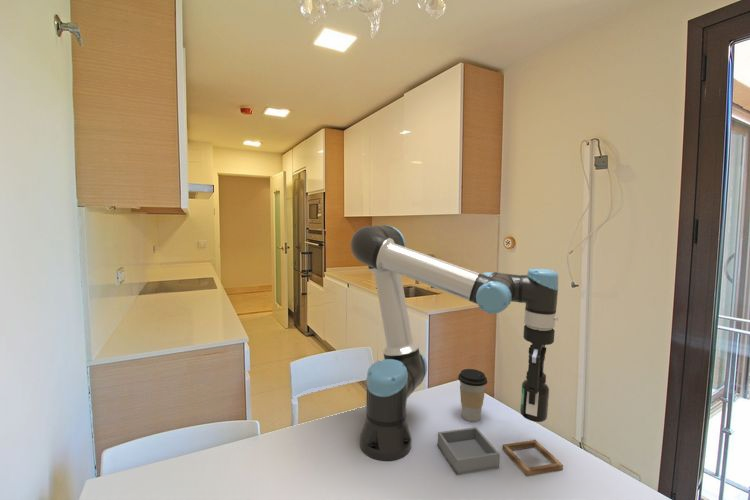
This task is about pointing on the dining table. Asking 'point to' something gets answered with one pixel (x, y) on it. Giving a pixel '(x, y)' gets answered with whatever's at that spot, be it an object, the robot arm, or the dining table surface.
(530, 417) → the supplement bottle
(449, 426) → the dining table surface
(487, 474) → the dining table surface
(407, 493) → the dining table surface
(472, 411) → the coffee cup
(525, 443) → the wooden square frame
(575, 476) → the dining table surface
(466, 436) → the bin
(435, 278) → the robot arm
